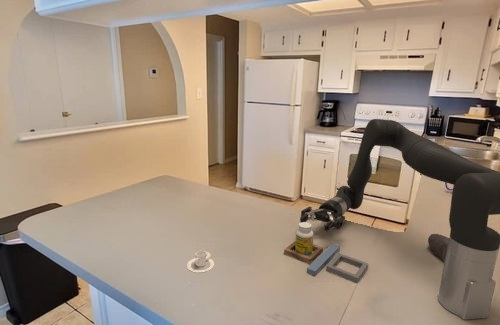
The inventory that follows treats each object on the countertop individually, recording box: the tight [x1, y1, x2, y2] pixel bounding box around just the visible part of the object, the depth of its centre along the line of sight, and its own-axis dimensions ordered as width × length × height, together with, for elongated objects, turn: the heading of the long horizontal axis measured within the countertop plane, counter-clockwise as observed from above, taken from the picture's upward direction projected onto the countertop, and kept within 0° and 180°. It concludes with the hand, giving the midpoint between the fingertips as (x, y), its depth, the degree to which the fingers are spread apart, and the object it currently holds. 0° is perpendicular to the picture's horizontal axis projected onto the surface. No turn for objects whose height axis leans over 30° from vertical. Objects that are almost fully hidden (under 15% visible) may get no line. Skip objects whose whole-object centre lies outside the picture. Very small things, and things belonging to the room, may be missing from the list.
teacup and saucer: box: [186, 250, 215, 274], centre depth 88 cm, size 9×8×4 cm
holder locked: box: [283, 240, 324, 265], centre depth 95 cm, size 9×9×2 cm
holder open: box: [325, 252, 369, 284], centre depth 87 cm, size 9×9×2 cm
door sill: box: [306, 243, 341, 277], centre depth 91 cm, size 18×2×2 cm, turn 142°
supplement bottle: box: [294, 221, 314, 256], centre depth 94 cm, size 5×5×10 cm
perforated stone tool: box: [427, 233, 449, 262], centre depth 93 cm, size 15×5×7 cm, turn 4°
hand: (313, 224), depth 98 cm, fingers open, 8 cm apart
